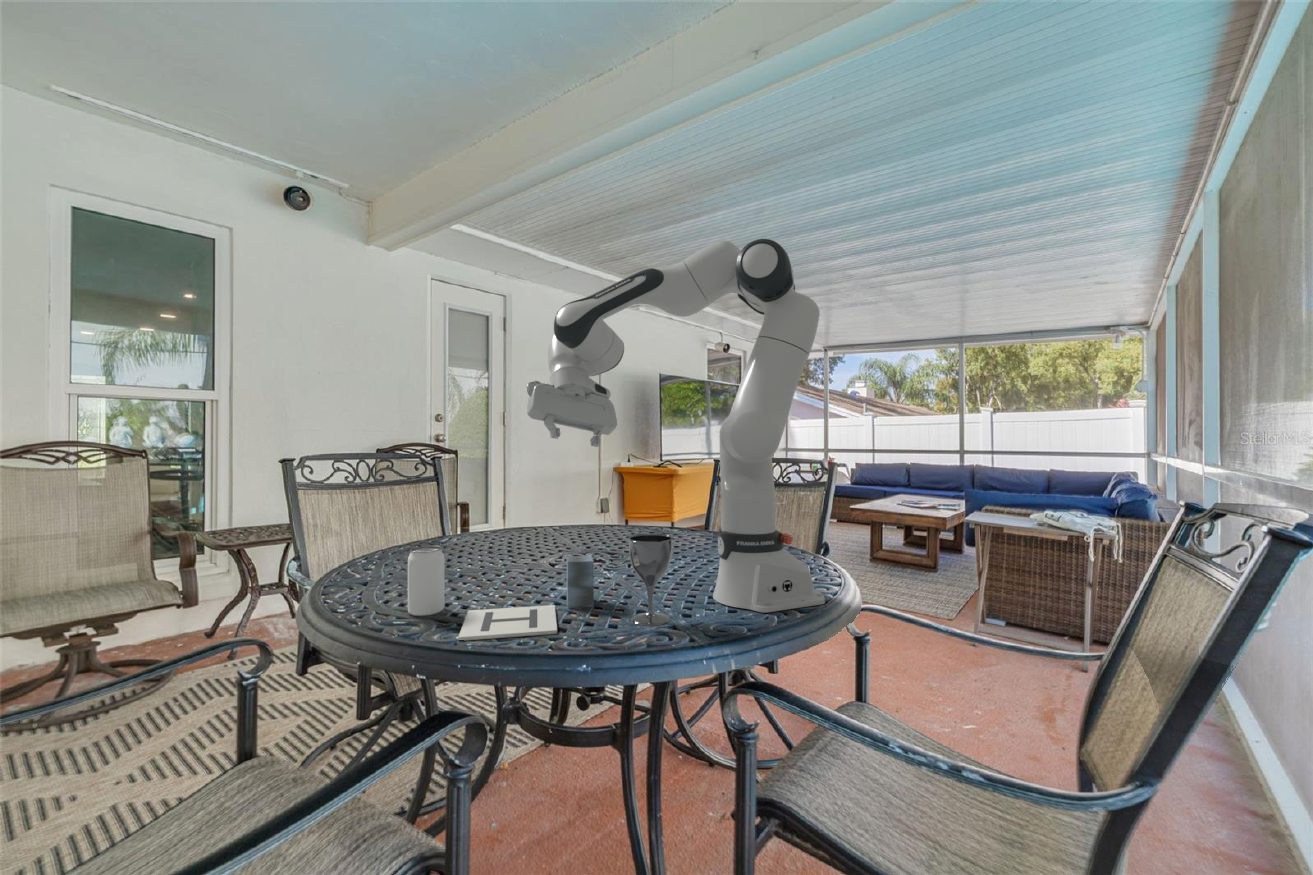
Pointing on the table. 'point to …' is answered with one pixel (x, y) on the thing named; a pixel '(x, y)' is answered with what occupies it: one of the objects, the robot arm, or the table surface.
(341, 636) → the table surface
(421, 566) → the can
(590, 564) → the slate block
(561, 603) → the table surface
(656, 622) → the wine glass
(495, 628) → the letter board
